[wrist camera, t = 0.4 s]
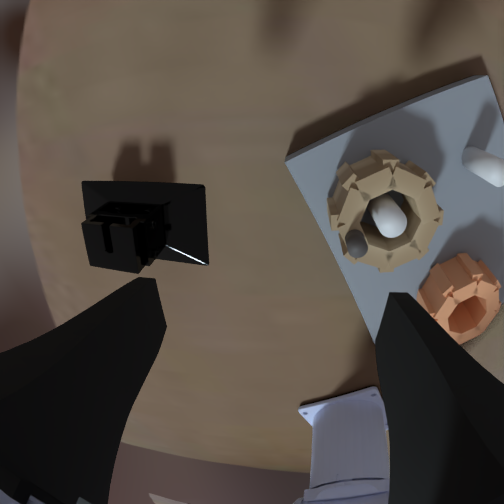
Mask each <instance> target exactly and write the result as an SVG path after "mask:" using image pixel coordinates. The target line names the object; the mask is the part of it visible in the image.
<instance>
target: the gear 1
mask: <svg viewBox="0 0 504 504" xmlns="http://www.w3.org/2000/svg"><path fill="white" fill-rule="evenodd" d="M336 174H337V176H338V178H339V181H338V184H337V186H336V189H335V192H334V195H333V197H332V198H327V213H328V217H329V222H330V227H331V231H337V230H339V232H340V233H339V234H338V235H339V239H340V243H341V247H342V252H343V256H344V257H346V258H347V259H348V260H349V261H350V262H351V263H353V264H354V265H355V264H356V263H357V262H361V263H364V264H368V265H371V266H374V267H377V268H378V270H379V273H383V272H394V268H396V267H398V266H400V265H403V264H405V263H407V262H409V261H412V260H414V259H416V258H417V259H418V260H420V259H421V258H422V257H423V256H424V255H425V254H426V253H427V252H428V251H429V249H428V245H429V243H430V242H431V240H432V238H433V236H434V234H435V232H436V230H437V227H438V225H442V224H443V215H444V210H443V209H442V208H441V207H440V206H439V205H438V204H437V203H436V199H435V196H434V193H433V190H432V187H433V186H434V185H435V184H436V183H435V181H434V180H433V179H432V178H431V177H430V176H429V174H428V173H427V172H426V171H424V170H423V169H422V168H420V167H419V166H417V165H416V164H414V163H413V162H411V161H410V160H409V161H408V162H407V163H406V164H402V163H400V162H399V159H398V158H396V157H395V156H394V155H392V154H391V153H389V152H388V151H386V150H371V156H369V157H367V158H365V159H363V160H360V161H358V162H356V163H354V164H352V165H349V164H348V163H347V162H346V161H345V163H344V164H343V165H342V166H341V167H340V168H339V169H338V170H337V171H336ZM391 190H395V191H397V192H400V193H401V194H402V196H403V199H404V201H403V203H402V205H401V208H400V209H401V210H402V211H403V213H404V214H405V216H406V218H407V226H406V229H405V230H404V232H403V233H402V234H401V235H399V236H397V237H394V238H388V237H385V236H384V235H382V234H381V232H380V231H379V229H378V227H376V226H373V225H370V224H368V223H365V222H362V221H361V219H362V217H363V215H364V212H365V210H366V207H367V205H368V202H369V200H371V199H373V198H375V197H377V196H380V195H382V194H384V193H386V192H388V191H391Z"/></svg>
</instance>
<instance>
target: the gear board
mask: <svg viewBox="0 0 504 504" xmlns="http://www.w3.org/2000/svg"><path fill="white" fill-rule="evenodd" d="M371 150H386V151H388V152H389V153H391V154H392V155H394V156H395V157H396V158H398V159H399V162H400V163H402V164H406V163H407V162H408V161H409V160H410V161H411V162H413V163H414V164H416V165H417V166H419V167H420V168H422V169H423V170H424V171H426V172H427V173H428V174H429V176H430V177H431V178H432V179H433V180H434V181H435V183H436V184H435V185H434V186H433V187H432V190H433V193H434V196H435V199H436V203H437V204H438V205H439V206H440V207H441V208H442V209H443V210H444V215H443V224H442V225H438V227H437V230H436V232H435V234H434V236H433V238H432V240H431V242H430V243H429V245H428V249H429V251H428V252H427V253H426V254H425V255H424V256H423V257H422V258H421V259H420V260H418V259H417V258H416V259H414V260H412V261H409V262H407V263H405V264H403V265H400V266H398V267H396V268H394V272H383V273H379V270H378V268H377V267H374V266H371V265H368V264H364V263H361V262H357V263H356V264H355V265H354V264H353V263H351V262H350V261H349V260H348V259H347V258H346V257H344V256H343V252H342V247H341V243H340V239H339V235H338V234H339V233H340V232H339V230H337V231H331V227H330V222H329V217H328V213H327V198H332V197H333V195H334V192H335V189H336V186H337V184H338V181H339V178H338V176H337V174H336V171H337V170H338V169H339V168H340V167H341V166H342V165H343V164H344V163H345V161H346V162H347V163H348V164H349V165H352V164H354V163H356V162H358V161H360V160H363V159H365V158H367V157H369V156H371ZM285 164H286V166H287V167H288V169H289V171H290V173H291V174H292V176H293V178H294V180H295V182H296V183H297V185H298V187H299V189H300V191H301V193H302V194H303V196H304V198H305V200H306V202H307V204H308V206H309V207H310V209H311V211H312V213H313V215H314V217H315V219H316V221H317V223H318V225H319V227H320V229H321V230H322V232H323V234H324V236H325V238H326V240H327V242H328V244H329V246H330V248H331V250H332V252H333V254H334V256H335V258H336V260H337V262H338V264H339V267H340V269H341V271H342V273H343V275H344V277H345V279H346V281H347V283H348V285H349V288H350V290H351V292H352V294H353V296H354V298H355V300H356V303H357V305H358V307H359V309H360V311H361V314H362V316H363V318H364V320H365V323H366V325H367V327H368V330H369V332H370V334H371V337H372V339H373V341H374V344H375V339H376V336H377V333H378V330H379V327H380V323H381V320H382V317H383V313H384V310H385V306H386V303H387V299H388V295H389V292H408V293H409V294H410V295H411V296H412V297H413V298H414V299H415V300H416V298H417V293H418V289H421V288H422V287H423V285H424V283H425V282H426V280H427V278H428V277H429V275H430V272H429V271H430V270H431V269H432V268H433V267H434V266H435V265H436V264H437V263H438V264H442V263H444V262H446V261H448V260H450V259H452V258H454V257H456V256H457V254H458V253H467V254H468V255H469V256H470V258H471V259H472V260H474V261H476V262H479V261H480V260H482V261H483V262H484V264H485V265H486V266H487V267H488V268H489V270H490V271H491V272H492V273H493V275H494V276H495V277H496V279H497V280H498V281H499V283H500V285H501V288H500V289H499V300H500V301H501V303H502V304H503V303H504V122H503V119H502V115H501V112H500V109H499V106H498V103H497V100H496V97H495V94H494V91H493V88H492V85H491V83H490V80H489V77H488V75H474V76H471V77H468V78H466V79H463V80H460V81H457V82H454V83H452V84H449V85H446V86H444V87H441V88H438V89H436V90H433V91H431V92H428V93H425V94H423V95H420V96H418V97H415V98H413V99H410V100H408V101H406V102H403V103H401V104H398V105H396V106H394V107H391V108H389V109H387V110H384V111H382V112H380V113H377V114H375V115H373V116H370V117H368V118H366V119H364V120H361V121H359V122H357V123H355V124H353V125H350V126H348V127H346V128H344V129H342V130H340V131H337V132H335V133H333V134H331V135H329V136H327V137H325V138H323V139H321V140H319V141H317V142H314V143H312V144H310V145H308V146H306V147H304V148H302V149H300V150H298V151H296V152H294V153H292V154H290V155H288V156H286V158H285ZM403 201H404V199H403V196H402V194H401V193H400V192H397V191H395V190H391V191H388V192H386V193H384V194H382V195H380V196H377V197H375V198H373V199H371V200H369V202H368V205H367V207H366V210H365V212H364V215H363V217H362V219H361V221H362V222H365V223H368V224H370V225H373V226H376V227H378V229H379V231H380V232H381V234H382V235H384V236H385V237H388V238H394V237H397V236H399V235H401V234H402V233H403V232H404V230H405V229H406V226H407V218H406V216H405V214H404V213H403V211H402V210H401V209H400V208H401V205H402V203H403ZM416 301H417V300H416ZM502 304H501V305H502Z"/></svg>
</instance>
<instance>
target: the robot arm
mask: <svg viewBox="0 0 504 504" xmlns="http://www.w3.org/2000/svg"><path fill="white" fill-rule="evenodd" d="M166 328H167V325H166V321H165V317H164V313H163V309H162V305H161V301H160V297H159V293H158V288H157V284H156V280H155V279H154V278H143V277H138V278H136V279H134V280H132V281H131V282H129V283H127V284H126V285H124V286H122V287H121V288H119V289H118V290H116V291H114V292H113V293H111V294H110V295H108V296H107V297H105V298H104V299H102V300H101V301H99V302H97V303H96V304H94V305H93V306H91V307H90V308H88V309H87V310H85V311H83V312H82V313H80V314H78V315H77V316H75V317H73V318H72V319H70V320H69V321H67V322H65V323H64V324H62V325H60V326H58V327H57V328H55V329H53V330H51V331H49V332H47V333H45V334H43V335H41V336H40V337H37V338H36V339H33V340H31V341H29V342H27V343H24V344H22V345H19V346H17V347H14V348H12V349H10V350H7V351H5V352H2V353H0V504H108V496H109V490H110V483H111V478H112V473H113V468H114V463H115V459H116V455H117V451H118V448H119V444H120V441H121V437H122V434H123V431H124V428H125V425H126V422H127V418H128V416H129V413H130V411H131V408H132V406H133V404H134V402H135V400H136V397H137V395H138V393H139V391H140V389H141V387H142V385H143V383H144V381H145V379H146V377H147V375H148V373H149V371H150V369H151V367H152V365H153V363H154V361H155V359H156V357H157V354H158V352H159V349H160V347H161V344H162V341H163V338H164V335H165V331H166ZM375 348H376V361H377V370H378V376H379V381H380V386H381V391H382V396H383V399H382V397H381V395H380V393H379V391H378V388H377V387H375V386H372V387H369V388H366V389H362V390H359V391H356V392H353V393H349V394H346V395H342V396H339V397H335V398H331V399H328V400H324V401H320V402H316V403H312V404H308V405H303V406H300V407H299V408H298V411H299V413H300V414H301V415H302V416H303V417H304V418H305V419H306V420H307V421H308V422H309V424H310V425H311V426H312V427H313V437H312V459H311V476H310V477H311V478H310V489H306V490H304V498H298V499H297V500H296V501H295V502H294V503H293V504H504V384H503V383H502V382H500V381H499V380H498V379H497V378H495V377H494V376H493V375H492V374H491V373H490V372H488V371H487V370H486V369H485V368H484V367H482V366H481V365H480V364H479V363H478V362H477V361H476V360H475V359H474V358H473V357H472V356H471V355H469V354H468V353H467V352H466V351H465V350H464V349H463V348H462V347H461V346H460V345H459V344H458V343H457V342H456V341H455V340H454V339H453V338H452V337H451V336H450V335H449V334H448V333H447V332H446V331H445V330H444V329H443V328H442V327H441V326H440V325H439V323H438V322H437V321H436V320H435V319H434V318H433V317H432V316H431V315H430V314H429V313H428V312H427V311H426V310H425V309H424V308H423V307H422V306H421V305H420V304H419V303H418V302H417V301H416V300H415V299H414V298H413V297H412V296H411V295H410V294H409V293H408V292H389V295H388V299H387V303H386V306H385V310H384V313H383V317H382V320H381V323H380V327H379V330H378V333H377V336H376V339H375ZM386 430H389V440H390V468H389V457H388V447H387V438H386ZM389 472H390V478H389Z"/></svg>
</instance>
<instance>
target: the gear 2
mask: <svg viewBox="0 0 504 504" xmlns="http://www.w3.org/2000/svg"><path fill="white" fill-rule="evenodd" d="M429 272H430V275H429V277H428V278H427V280H426V282H425V283H424V285H423V287H422V288H421V289H418V293H417V298H416V300H417V302H418V303H419V304H420V305H421V306H422V307H423V308H424V309H425V310H426V311H427V312H428V313H429V314H430V315H431V316H432V317H433V318H434V319H435V320H436V321H437V322H438V323H439V325H440V326H441V327H442V328H443V329H444V330H445V331H446V332H447V333H448V334H449V335H450V336H451V337H452V338H453V339H454V340H455V341H456V342H457V343H458V344H459V345H460V344H462V343H464V342H466V341H468V340H470V339H472V338H474V337H476V336H479V335H480V334H481V333H482V332H484V331H485V330H486V328H487V326H488V325H489V324H490V322H491V321H492V320H493V318H494V317H495V315H496V314H497V313H498V312H499V309H500V306H501V304H502V303H501V301H500V300H499V289H500V288H501V285H500V283H499V281H498V280H497V279H496V277H495V276H494V275H493V273H492V272H491V271H490V270H489V268H488V267H487V266H486V265H485V264H484V262H483V261H482V260H480V261H479V262H476V261H474V260H472V259H471V258H470V256H469V255H468V254H467V253H458V254H457V256H456V257H454V258H452V259H450V260H448V261H446V262H444V263H442V264H438V263H437V264H436V265H435V266H434V267H433V268H432V269H431V270H430V271H429Z"/></svg>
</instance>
